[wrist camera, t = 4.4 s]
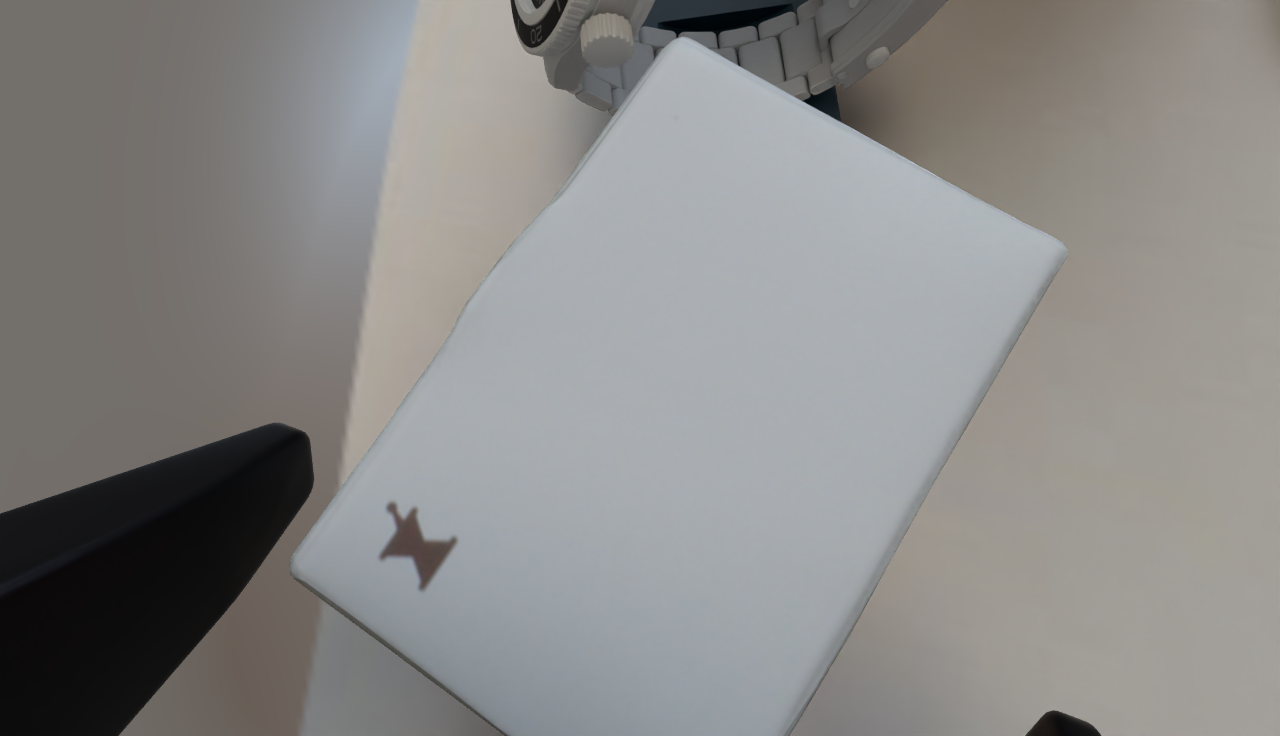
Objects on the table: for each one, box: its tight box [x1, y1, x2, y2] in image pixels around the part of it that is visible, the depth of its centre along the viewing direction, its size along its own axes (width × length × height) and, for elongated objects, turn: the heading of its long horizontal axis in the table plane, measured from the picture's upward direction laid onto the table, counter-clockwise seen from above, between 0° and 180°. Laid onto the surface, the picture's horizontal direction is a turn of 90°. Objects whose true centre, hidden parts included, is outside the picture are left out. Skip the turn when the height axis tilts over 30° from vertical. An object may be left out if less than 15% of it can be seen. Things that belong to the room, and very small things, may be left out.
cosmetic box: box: [290, 37, 1068, 736], centre depth 12 cm, size 6×4×12 cm
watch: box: [511, 0, 948, 122], centre depth 14 cm, size 6×8×11 cm
